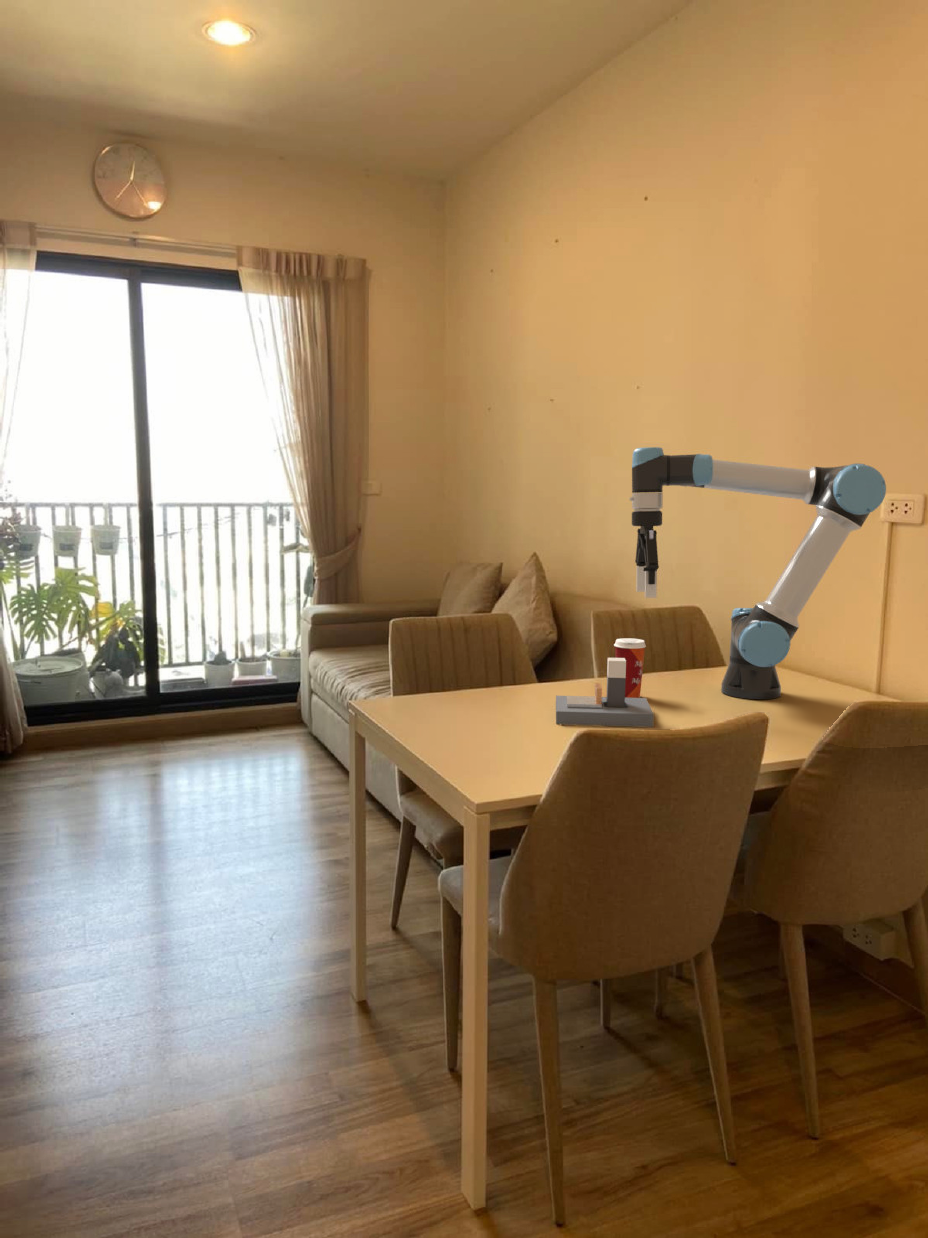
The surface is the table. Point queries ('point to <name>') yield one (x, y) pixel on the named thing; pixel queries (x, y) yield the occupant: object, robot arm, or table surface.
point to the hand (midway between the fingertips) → (646, 594)
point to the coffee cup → (631, 663)
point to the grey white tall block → (616, 682)
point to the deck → (606, 713)
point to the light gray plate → (586, 699)
